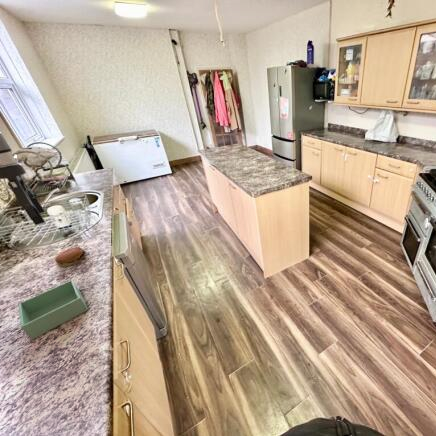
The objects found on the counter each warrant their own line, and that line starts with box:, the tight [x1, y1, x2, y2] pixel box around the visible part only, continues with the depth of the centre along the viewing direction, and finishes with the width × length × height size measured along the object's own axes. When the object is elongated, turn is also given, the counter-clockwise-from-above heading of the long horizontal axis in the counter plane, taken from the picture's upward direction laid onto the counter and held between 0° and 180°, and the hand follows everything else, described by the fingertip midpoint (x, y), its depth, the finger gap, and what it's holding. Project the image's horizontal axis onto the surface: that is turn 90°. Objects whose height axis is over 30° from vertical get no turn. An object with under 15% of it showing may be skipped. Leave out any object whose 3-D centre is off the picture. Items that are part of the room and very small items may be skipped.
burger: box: [54, 246, 87, 268], centre depth 101 cm, size 10×9×5 cm
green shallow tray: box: [18, 279, 89, 340], centre depth 75 cm, size 14×14×6 cm
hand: (40, 218), depth 92 cm, fingers open, 13 cm apart
